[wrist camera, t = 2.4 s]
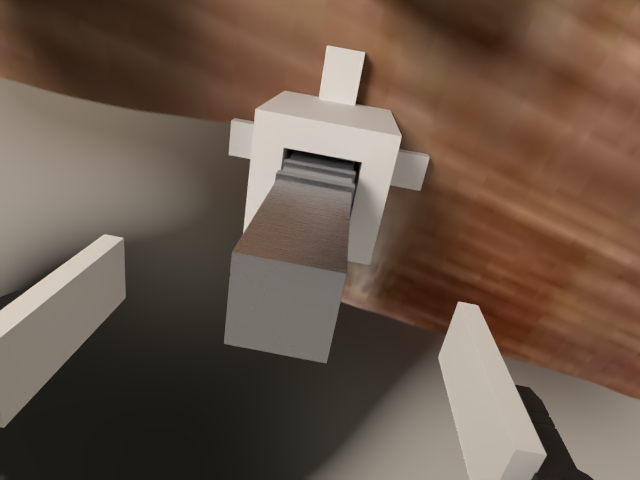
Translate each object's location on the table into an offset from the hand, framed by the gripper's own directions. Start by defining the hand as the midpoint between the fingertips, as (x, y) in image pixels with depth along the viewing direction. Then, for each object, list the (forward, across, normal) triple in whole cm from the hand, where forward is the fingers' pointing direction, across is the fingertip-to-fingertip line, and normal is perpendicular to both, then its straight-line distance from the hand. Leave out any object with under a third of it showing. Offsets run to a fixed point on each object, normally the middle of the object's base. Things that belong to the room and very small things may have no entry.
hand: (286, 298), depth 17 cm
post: (+23, 0, 0) cm, 23 cm away
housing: (+23, 0, 0) cm, 23 cm away
